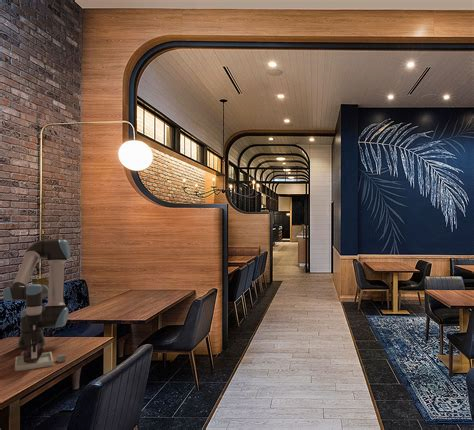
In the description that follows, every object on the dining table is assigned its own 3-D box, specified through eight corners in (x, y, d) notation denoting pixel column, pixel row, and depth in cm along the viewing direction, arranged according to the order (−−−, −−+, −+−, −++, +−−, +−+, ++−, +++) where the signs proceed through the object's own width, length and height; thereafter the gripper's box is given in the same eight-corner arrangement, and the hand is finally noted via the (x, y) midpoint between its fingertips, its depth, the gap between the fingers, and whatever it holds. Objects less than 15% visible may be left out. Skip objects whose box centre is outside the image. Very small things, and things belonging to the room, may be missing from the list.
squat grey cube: (56, 361, 224) (56, 355, 224) (62, 359, 226) (62, 354, 226) (59, 362, 221) (59, 357, 221) (65, 361, 223) (65, 355, 223)
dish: (15, 361, 224) (15, 356, 224) (51, 356, 232) (51, 351, 232) (15, 371, 208) (14, 366, 208) (53, 365, 216) (53, 360, 216)
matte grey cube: (24, 356, 233) (24, 350, 234) (30, 356, 233) (30, 350, 233) (20, 358, 229) (20, 352, 230) (27, 358, 229) (27, 352, 229)
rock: (20, 366, 213) (41, 363, 215) (19, 349, 213) (39, 347, 215) (27, 359, 225) (47, 356, 226) (26, 343, 225) (46, 341, 226)
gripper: (26, 310, 230) (26, 350, 229) (25, 319, 208) (26, 362, 207) (41, 309, 233) (41, 348, 232) (42, 317, 211) (42, 360, 211)
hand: (34, 354), depth 220 cm, fingers closed on rock, 12 cm apart
